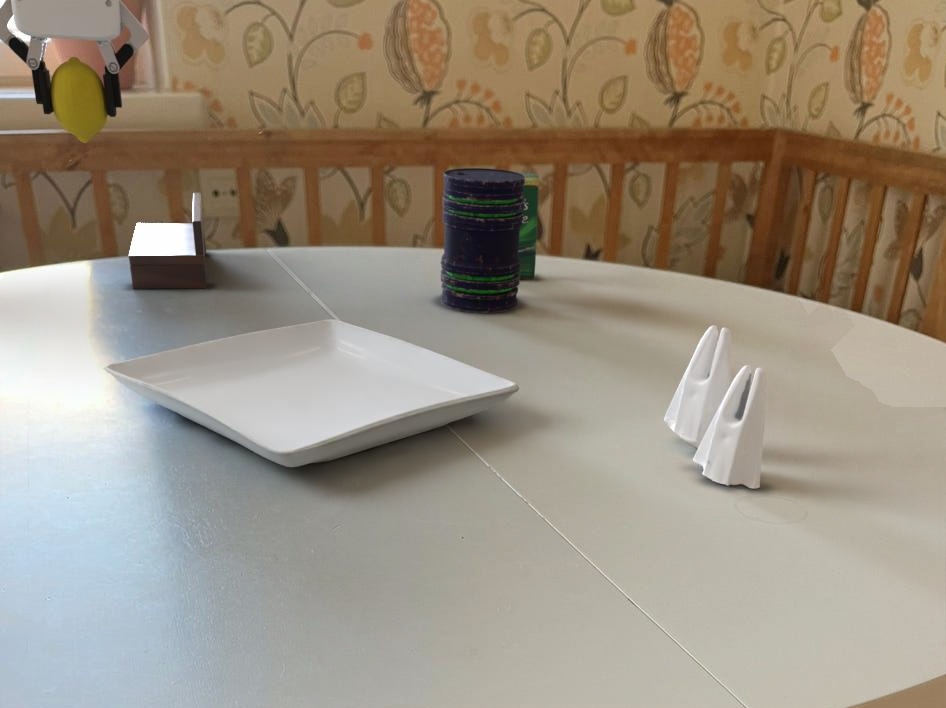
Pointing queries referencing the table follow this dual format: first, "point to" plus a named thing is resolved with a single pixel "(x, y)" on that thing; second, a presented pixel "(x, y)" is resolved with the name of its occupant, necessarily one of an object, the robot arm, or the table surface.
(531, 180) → the coffee box
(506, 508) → the table surface
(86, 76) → the lemon
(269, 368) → the square plate
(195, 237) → the block with corner post
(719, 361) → the shaker set
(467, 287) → the navy striped canister
